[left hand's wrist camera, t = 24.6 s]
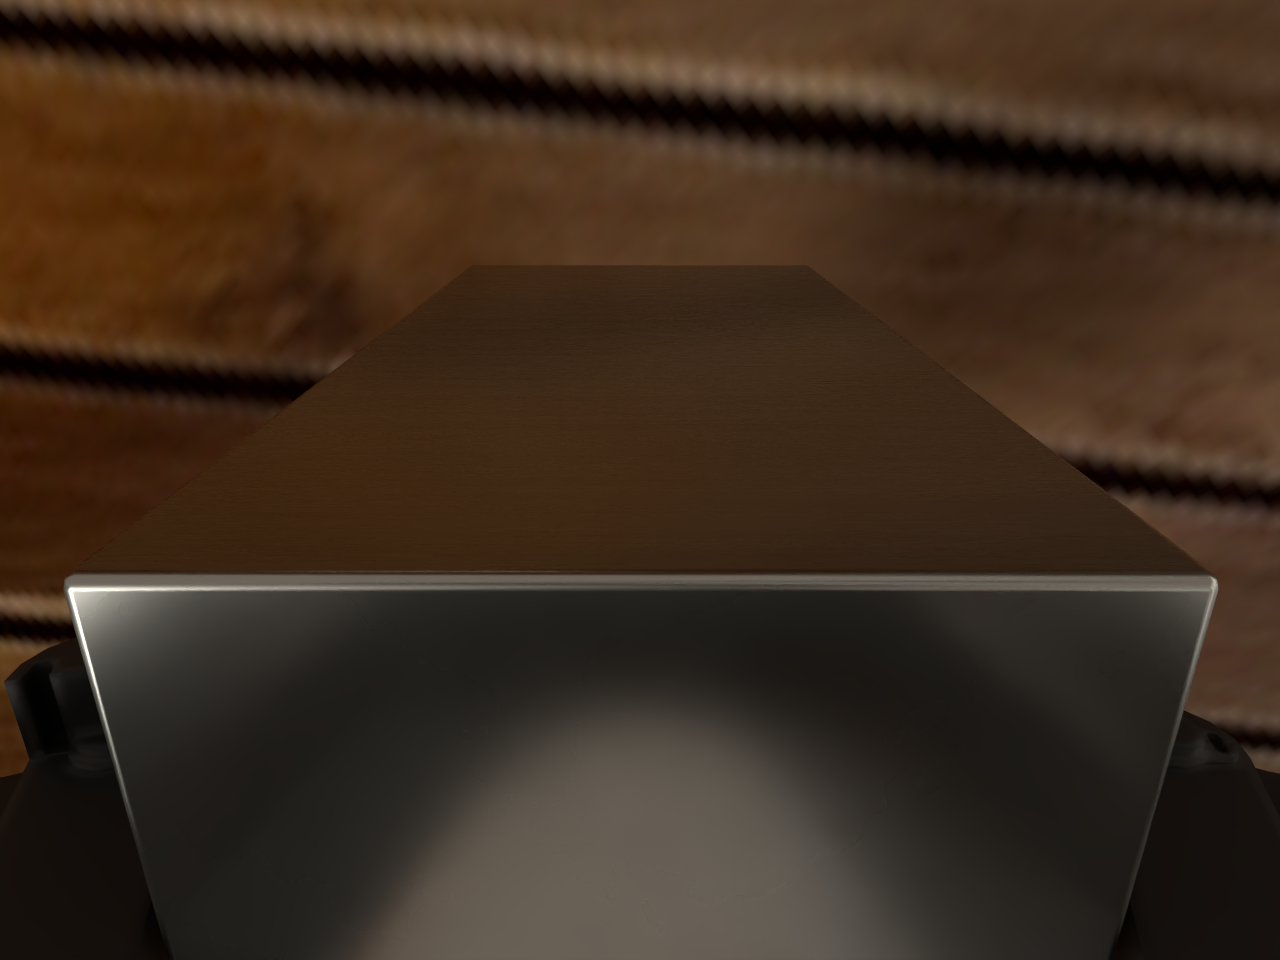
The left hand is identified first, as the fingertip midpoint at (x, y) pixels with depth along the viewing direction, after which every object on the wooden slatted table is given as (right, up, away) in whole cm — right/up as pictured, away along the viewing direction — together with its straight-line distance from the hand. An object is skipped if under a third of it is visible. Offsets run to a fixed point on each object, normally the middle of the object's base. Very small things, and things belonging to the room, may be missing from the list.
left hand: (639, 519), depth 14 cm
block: (0, +1, +3) cm, 3 cm away
